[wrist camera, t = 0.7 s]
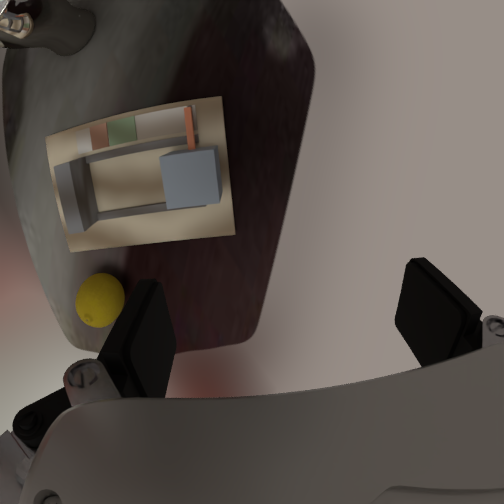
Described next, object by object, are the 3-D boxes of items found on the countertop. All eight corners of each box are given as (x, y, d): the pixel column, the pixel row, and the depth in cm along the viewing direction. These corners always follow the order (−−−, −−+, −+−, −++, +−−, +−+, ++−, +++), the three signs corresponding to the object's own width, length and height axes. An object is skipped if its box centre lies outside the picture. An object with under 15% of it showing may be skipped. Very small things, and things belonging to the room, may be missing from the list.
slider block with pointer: (166, 111, 25) (153, 110, 20) (213, 104, 25) (208, 101, 20) (177, 196, 28) (167, 209, 24) (222, 191, 28) (219, 203, 24)
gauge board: (50, 136, 25) (24, 141, 21) (222, 97, 26) (218, 91, 21) (75, 248, 31) (54, 267, 27) (235, 230, 31) (234, 250, 27)
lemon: (85, 270, 33) (56, 306, 25) (117, 255, 32) (89, 291, 25) (108, 305, 35) (85, 344, 28) (140, 292, 34) (120, 334, 27)
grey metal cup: (76, 67, 23) (-18, 51, 9) (40, 50, 21) (-48, 37, 7) (111, 14, 20) (34, -34, 7) (71, 1, 18) (-6, -36, 5)
